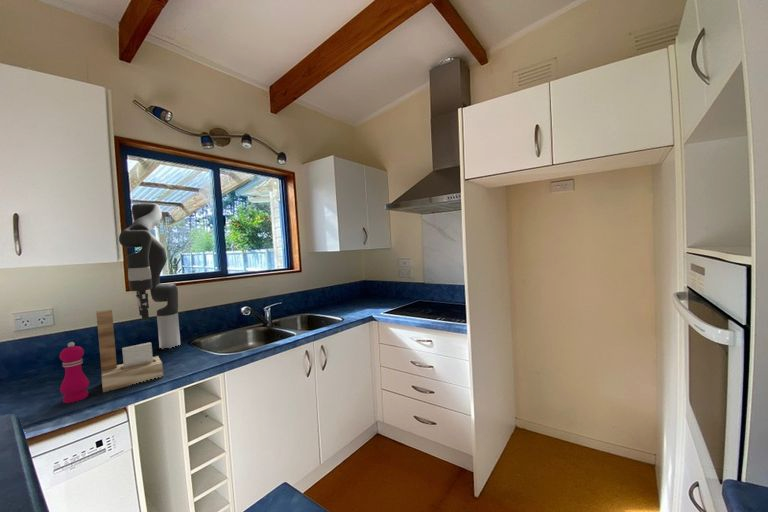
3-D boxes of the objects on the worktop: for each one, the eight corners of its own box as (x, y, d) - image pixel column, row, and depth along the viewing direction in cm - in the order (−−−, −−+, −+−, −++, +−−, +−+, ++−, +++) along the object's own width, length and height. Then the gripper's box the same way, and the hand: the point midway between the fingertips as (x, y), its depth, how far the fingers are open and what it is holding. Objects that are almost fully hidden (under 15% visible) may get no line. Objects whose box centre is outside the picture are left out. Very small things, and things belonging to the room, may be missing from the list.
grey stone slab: (124, 377, 123) (122, 347, 123) (153, 370, 129) (150, 342, 129) (125, 380, 121) (122, 349, 121) (153, 372, 127) (151, 343, 127)
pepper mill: (93, 392, 114) (88, 337, 114) (86, 400, 108) (80, 342, 107) (66, 397, 111) (61, 341, 110) (57, 406, 105) (51, 347, 104)
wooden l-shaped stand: (102, 382, 122) (96, 311, 121) (158, 368, 134) (153, 303, 133) (103, 392, 113) (96, 315, 112) (163, 376, 126) (157, 307, 124)
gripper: (127, 278, 133) (131, 316, 134) (130, 281, 122) (134, 322, 123) (149, 276, 138) (152, 312, 139) (153, 278, 127) (157, 317, 128)
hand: (144, 316), depth 131 cm, fingers open, 8 cm apart
